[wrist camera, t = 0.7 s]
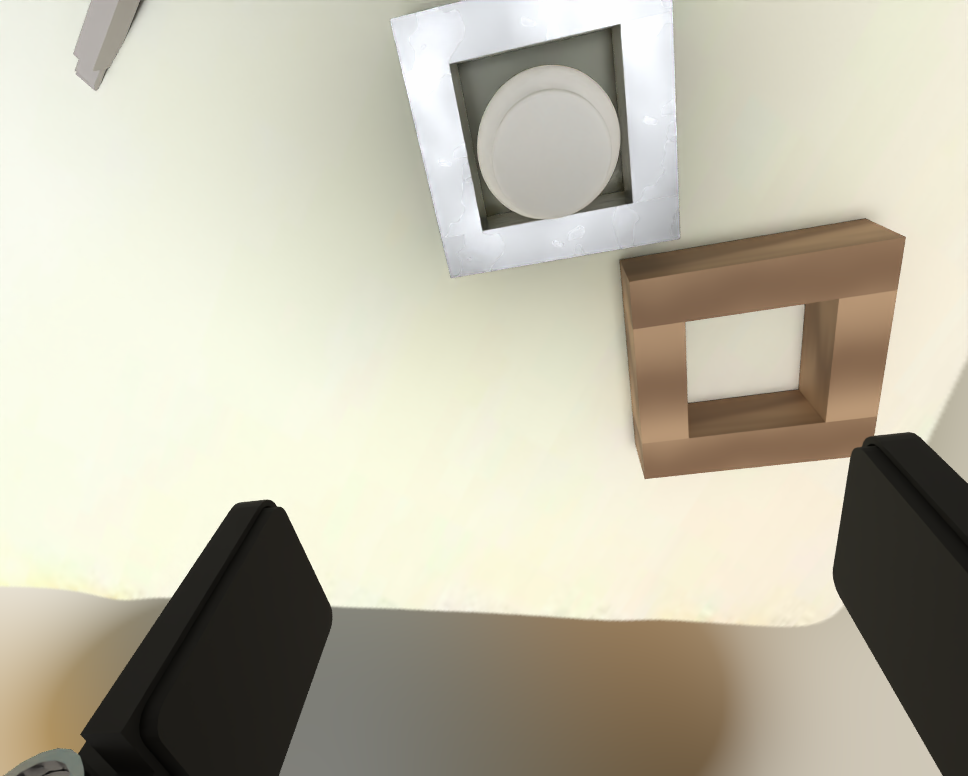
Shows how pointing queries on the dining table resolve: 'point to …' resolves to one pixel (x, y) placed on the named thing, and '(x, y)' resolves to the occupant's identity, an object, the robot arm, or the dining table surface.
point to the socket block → (449, 149)
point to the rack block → (754, 287)
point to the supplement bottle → (548, 142)
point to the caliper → (102, 37)
